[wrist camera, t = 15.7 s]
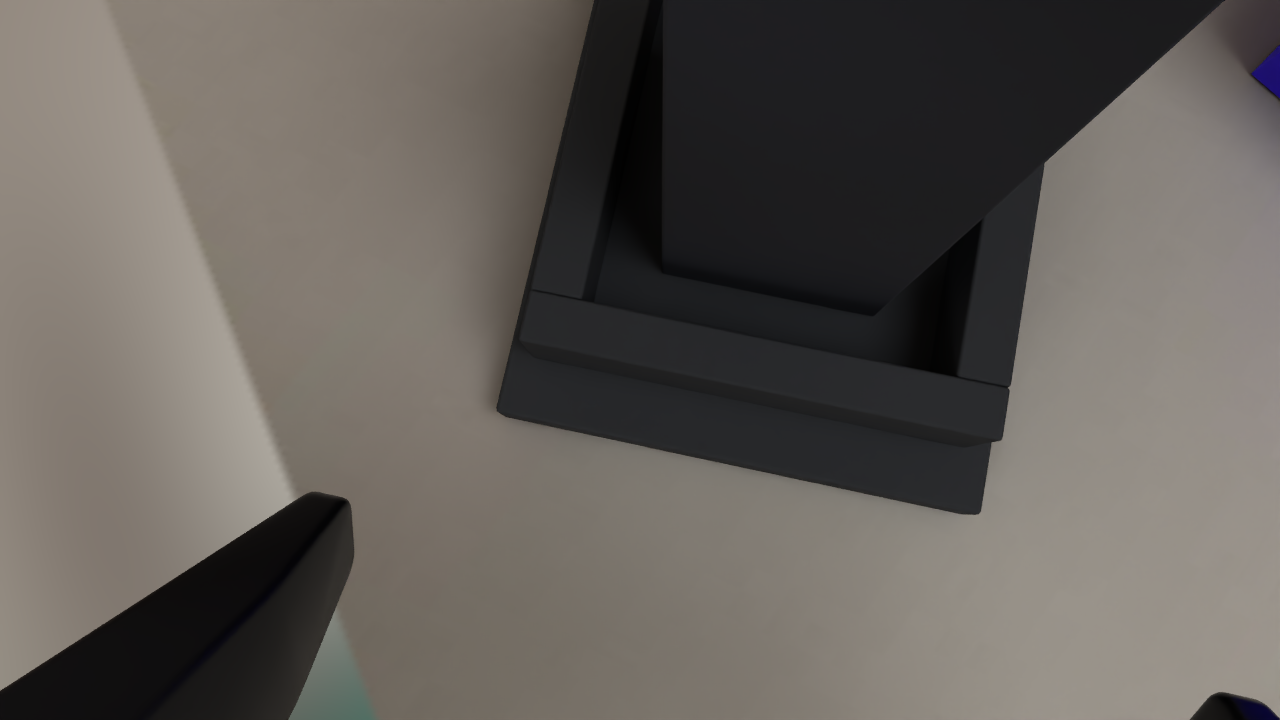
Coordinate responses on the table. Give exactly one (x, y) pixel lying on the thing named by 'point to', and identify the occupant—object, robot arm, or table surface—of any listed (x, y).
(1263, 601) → the table surface
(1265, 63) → the bracket
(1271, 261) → the table surface
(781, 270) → the black block
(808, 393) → the socket pad
